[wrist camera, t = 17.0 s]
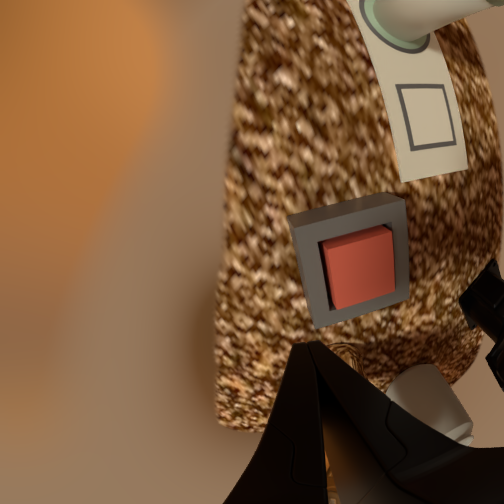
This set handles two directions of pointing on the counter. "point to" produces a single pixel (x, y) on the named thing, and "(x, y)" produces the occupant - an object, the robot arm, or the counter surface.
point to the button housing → (339, 223)
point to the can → (432, 401)
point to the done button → (358, 265)
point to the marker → (424, 15)
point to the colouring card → (415, 99)
